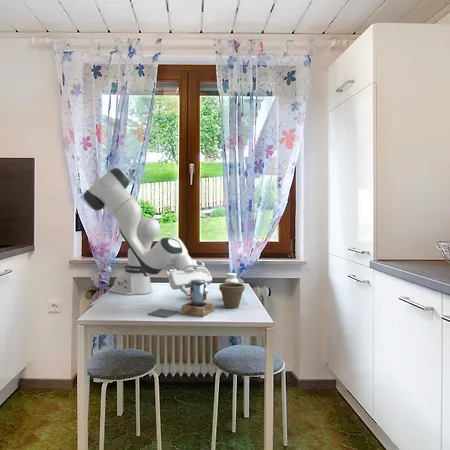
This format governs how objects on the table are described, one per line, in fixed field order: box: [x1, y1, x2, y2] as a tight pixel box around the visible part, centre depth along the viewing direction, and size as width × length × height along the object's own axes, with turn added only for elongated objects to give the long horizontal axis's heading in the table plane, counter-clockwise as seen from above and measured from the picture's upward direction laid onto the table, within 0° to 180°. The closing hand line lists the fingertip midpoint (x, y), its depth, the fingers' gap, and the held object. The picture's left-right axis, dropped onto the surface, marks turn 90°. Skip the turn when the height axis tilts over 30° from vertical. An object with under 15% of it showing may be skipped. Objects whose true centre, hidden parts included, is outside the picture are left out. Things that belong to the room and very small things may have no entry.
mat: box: [147, 308, 179, 319], centre depth 167 cm, size 9×9×1 cm
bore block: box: [181, 300, 214, 318], centre depth 169 cm, size 10×10×4 cm
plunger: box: [191, 279, 205, 307], centre depth 169 cm, size 6×6×14 cm
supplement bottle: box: [224, 272, 240, 284], centre depth 193 cm, size 7×7×13 cm
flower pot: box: [218, 282, 246, 309], centre depth 180 cm, size 12×11×10 cm
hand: (197, 294), depth 168 cm, fingers open, 8 cm apart
